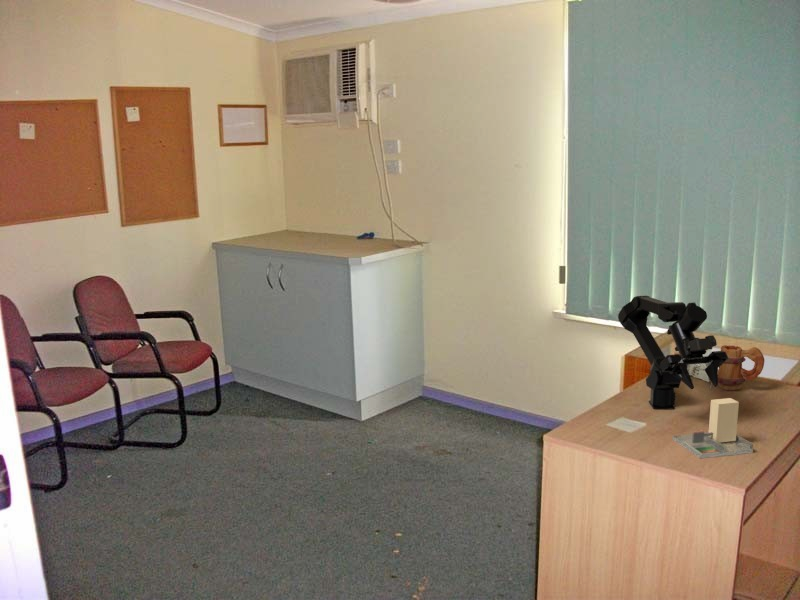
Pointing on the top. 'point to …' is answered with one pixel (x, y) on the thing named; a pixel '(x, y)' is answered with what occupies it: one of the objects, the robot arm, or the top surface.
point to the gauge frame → (714, 446)
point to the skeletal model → (701, 370)
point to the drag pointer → (698, 437)
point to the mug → (738, 367)
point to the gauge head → (723, 420)
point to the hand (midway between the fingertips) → (704, 387)
